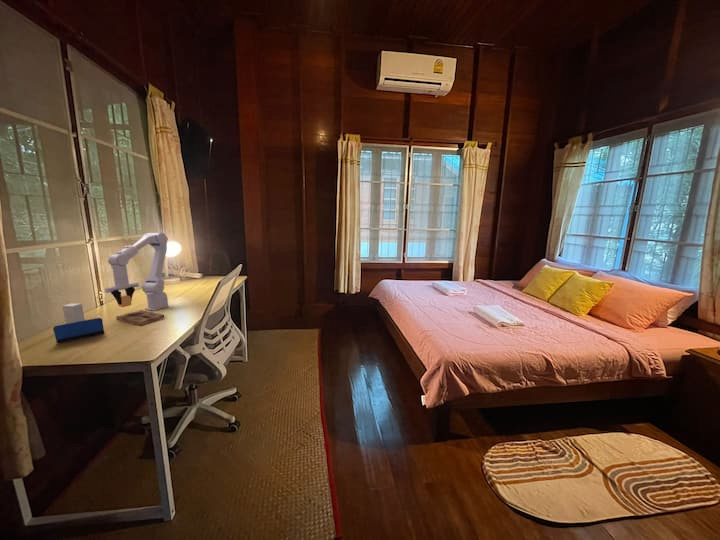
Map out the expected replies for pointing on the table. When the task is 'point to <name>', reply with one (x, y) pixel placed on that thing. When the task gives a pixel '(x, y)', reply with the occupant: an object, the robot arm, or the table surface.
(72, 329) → the blue box
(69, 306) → the skincare box
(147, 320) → the socket block
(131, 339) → the table surface
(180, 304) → the table surface
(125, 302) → the square bit
